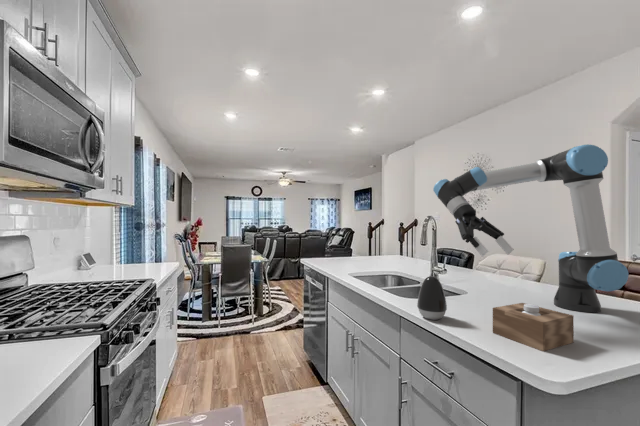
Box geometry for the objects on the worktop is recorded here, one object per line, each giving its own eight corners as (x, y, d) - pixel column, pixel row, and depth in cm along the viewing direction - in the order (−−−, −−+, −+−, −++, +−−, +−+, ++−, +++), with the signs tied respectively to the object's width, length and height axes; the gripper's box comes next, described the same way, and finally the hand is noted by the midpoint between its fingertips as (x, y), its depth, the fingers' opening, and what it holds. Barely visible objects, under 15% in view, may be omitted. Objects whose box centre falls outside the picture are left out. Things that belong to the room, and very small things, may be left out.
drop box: (522, 326, 106) (522, 302, 106) (573, 342, 92) (573, 315, 92) (492, 332, 99) (492, 307, 99) (543, 351, 86) (542, 322, 86)
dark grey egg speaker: (445, 314, 117) (446, 274, 118) (447, 323, 108) (447, 279, 108) (417, 312, 121) (417, 272, 121) (416, 320, 111) (417, 277, 111)
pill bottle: (516, 334, 98) (516, 303, 98) (532, 333, 99) (532, 303, 99) (529, 341, 93) (529, 308, 93) (546, 340, 93) (546, 308, 93)
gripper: (477, 217, 129) (513, 257, 115) (432, 216, 118) (466, 261, 104) (489, 203, 124) (528, 244, 110) (443, 202, 113) (480, 247, 100)
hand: (498, 253), depth 107 cm, fingers open, 13 cm apart
